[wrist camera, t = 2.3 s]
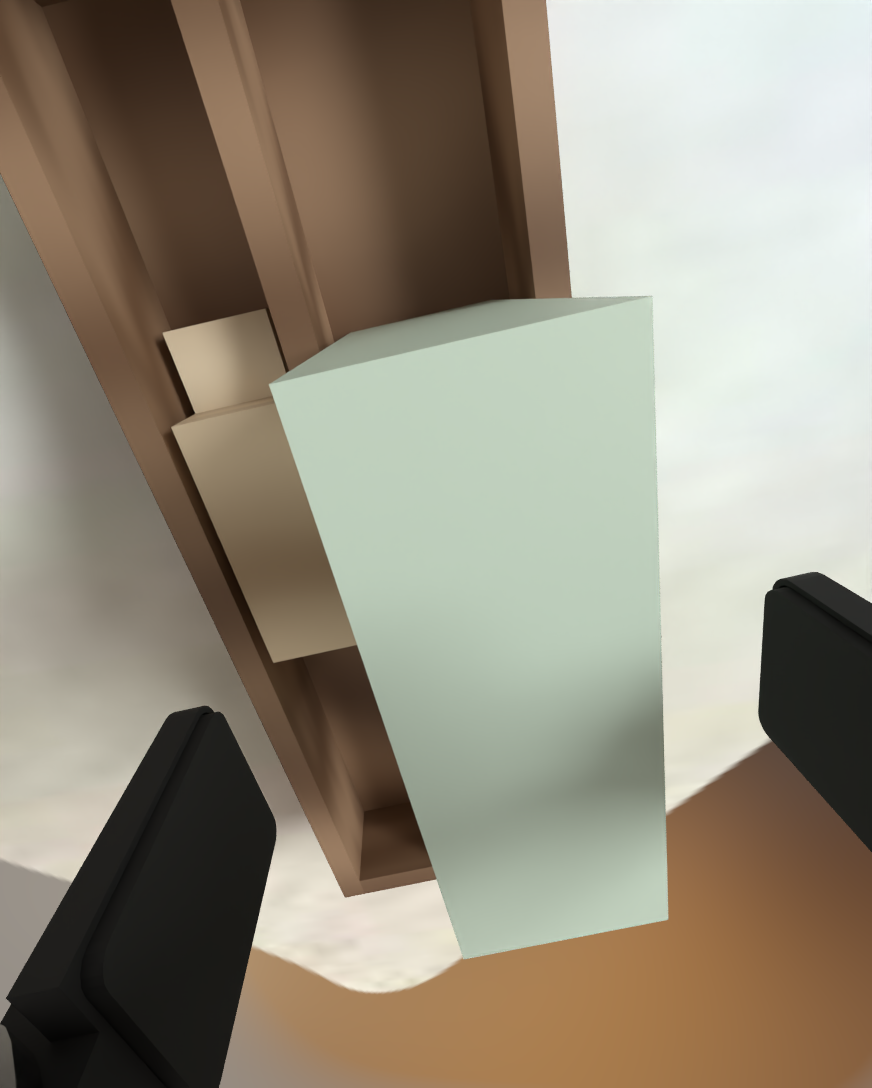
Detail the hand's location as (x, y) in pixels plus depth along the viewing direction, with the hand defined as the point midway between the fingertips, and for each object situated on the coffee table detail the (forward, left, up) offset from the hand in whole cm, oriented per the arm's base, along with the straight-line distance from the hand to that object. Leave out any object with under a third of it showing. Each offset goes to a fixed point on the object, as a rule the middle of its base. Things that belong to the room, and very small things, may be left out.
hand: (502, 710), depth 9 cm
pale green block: (-1, 0, -9) cm, 9 cm away
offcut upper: (-2, -5, -7) cm, 9 cm away
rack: (-1, -2, -10) cm, 10 cm away
